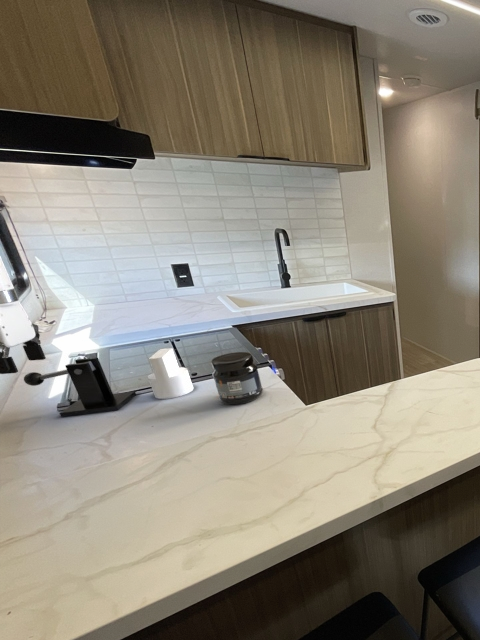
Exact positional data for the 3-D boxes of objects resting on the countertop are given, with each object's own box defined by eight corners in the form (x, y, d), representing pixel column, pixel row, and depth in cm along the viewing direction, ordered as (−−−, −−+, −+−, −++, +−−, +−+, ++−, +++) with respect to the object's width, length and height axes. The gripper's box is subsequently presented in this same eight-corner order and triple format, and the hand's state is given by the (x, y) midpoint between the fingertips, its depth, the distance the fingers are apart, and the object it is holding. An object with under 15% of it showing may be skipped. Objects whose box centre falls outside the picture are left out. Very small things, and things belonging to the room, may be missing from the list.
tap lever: (25, 389, 101) (16, 377, 100) (35, 384, 104) (26, 372, 103) (90, 374, 104) (83, 362, 103) (98, 370, 107) (90, 358, 106)
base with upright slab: (161, 388, 119) (147, 350, 114) (197, 383, 122) (185, 346, 117) (149, 401, 111) (134, 360, 107) (188, 395, 114) (175, 356, 110)
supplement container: (250, 387, 119) (240, 348, 115) (271, 394, 115) (262, 355, 110) (212, 400, 111) (200, 360, 106) (234, 409, 106) (221, 367, 102)
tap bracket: (61, 417, 103) (38, 371, 98) (84, 401, 112) (65, 357, 107) (118, 410, 106) (99, 365, 101) (136, 394, 115) (120, 352, 110)
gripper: (1, 292, 101) (29, 356, 107) (-63, 306, 86) (-25, 380, 92) (39, 291, 103) (65, 354, 109) (-16, 305, 88) (18, 377, 94)
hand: (24, 366), depth 101 cm, fingers open, 9 cm apart
